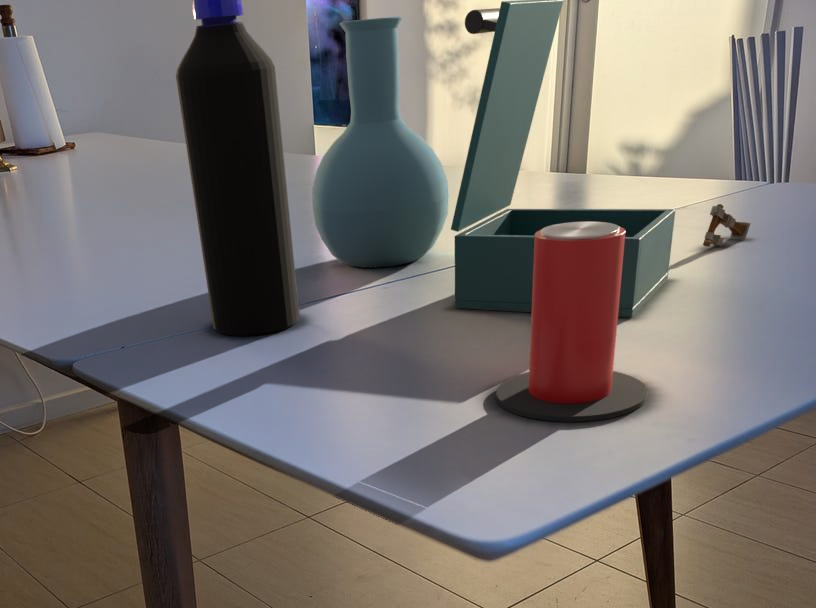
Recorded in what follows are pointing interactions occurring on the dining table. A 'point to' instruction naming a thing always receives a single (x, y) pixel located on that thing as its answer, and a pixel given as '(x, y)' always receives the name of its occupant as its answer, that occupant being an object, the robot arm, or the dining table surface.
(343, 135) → the vase
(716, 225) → the wooden post with brackets
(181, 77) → the bottle
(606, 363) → the can
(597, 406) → the coaster
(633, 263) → the teal rectangular open box
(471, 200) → the lid
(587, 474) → the dining table surface
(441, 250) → the dining table surface
